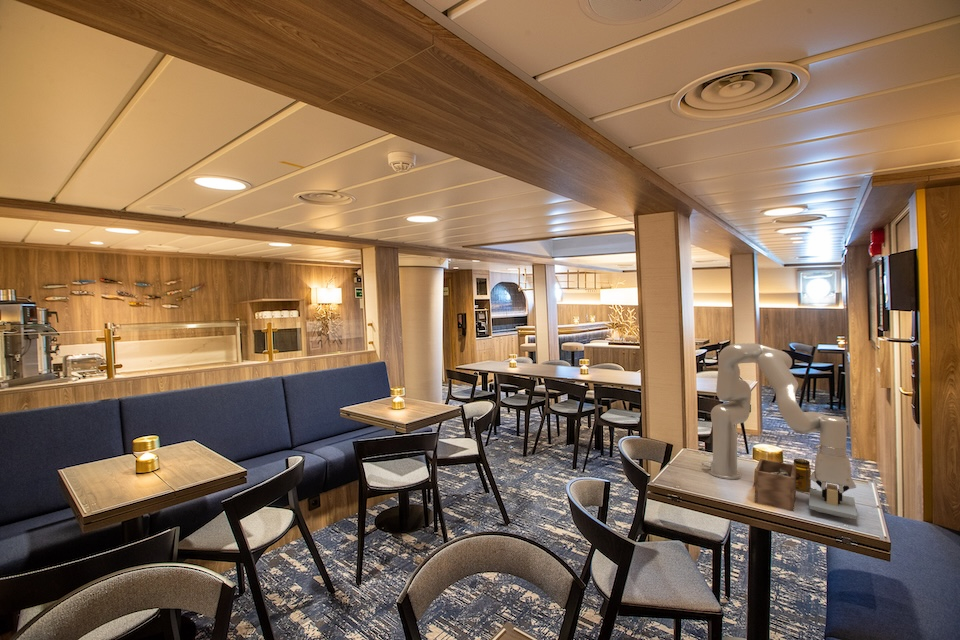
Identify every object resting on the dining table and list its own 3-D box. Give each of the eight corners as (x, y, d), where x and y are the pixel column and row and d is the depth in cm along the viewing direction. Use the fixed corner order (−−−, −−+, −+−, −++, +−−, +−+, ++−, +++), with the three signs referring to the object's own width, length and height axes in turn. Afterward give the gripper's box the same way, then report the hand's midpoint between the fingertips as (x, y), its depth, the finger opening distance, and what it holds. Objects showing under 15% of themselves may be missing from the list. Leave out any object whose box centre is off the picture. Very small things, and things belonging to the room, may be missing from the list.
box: (754, 502, 164) (754, 470, 164) (759, 487, 178) (760, 458, 178) (793, 511, 156) (793, 478, 156) (795, 495, 170) (796, 465, 170)
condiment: (788, 488, 178) (788, 459, 178) (796, 484, 182) (797, 455, 182) (809, 494, 172) (809, 464, 171) (817, 490, 176) (817, 460, 176)
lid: (808, 511, 153) (809, 491, 153) (809, 494, 168) (810, 475, 168) (857, 522, 145) (857, 501, 145) (853, 503, 160) (854, 484, 160)
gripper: (804, 448, 158) (803, 498, 159) (863, 458, 148) (862, 511, 148) (804, 444, 164) (804, 492, 164) (861, 452, 154) (861, 504, 154)
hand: (831, 500), depth 156 cm, fingers closed on lid, 3 cm apart
